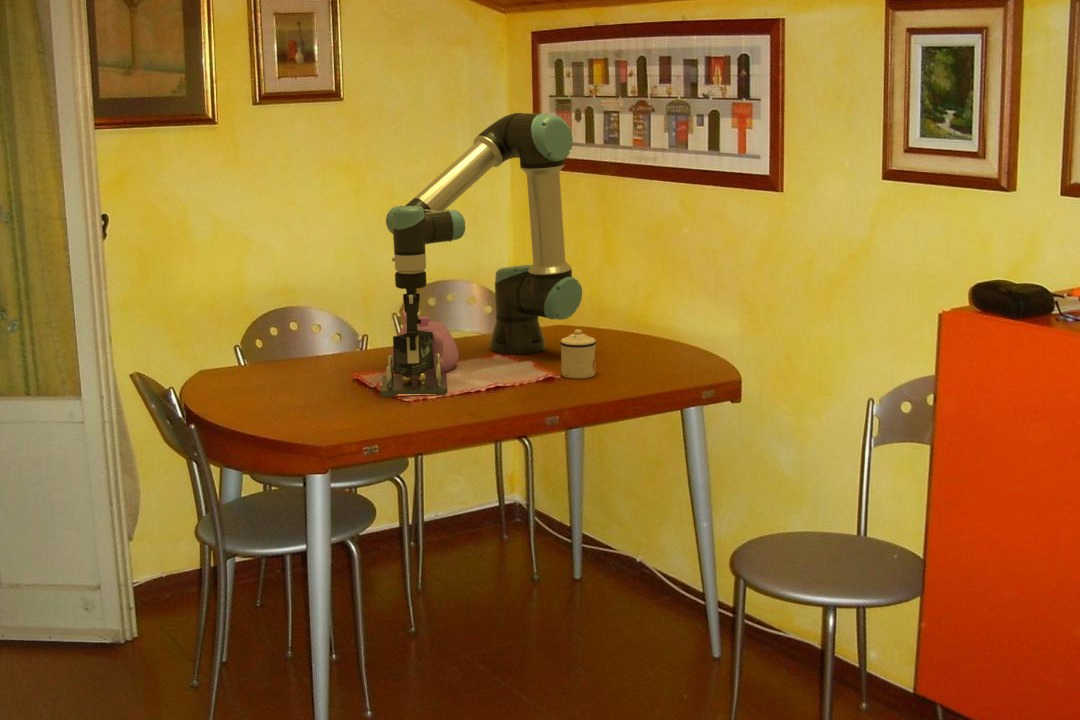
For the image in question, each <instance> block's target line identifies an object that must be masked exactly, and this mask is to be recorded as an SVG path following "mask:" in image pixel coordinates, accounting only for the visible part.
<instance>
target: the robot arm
mask: <svg viewBox="0 0 1080 720" xmlns="http://www.w3.org/2000/svg"><path fill="white" fill-rule="evenodd" d="M572 148H573V135H572V130H571V127H570V126H569V124H568V123H567V122H566V121H565V120H564V119H563V118H562V117H560V116H559V115H555V114H549V113H547V112H546V113H541V112H540V113H539V112H538V113H531V112H530V113H526V112H525V113H523V112H515V113H510V114H507V115H505V116H503V117H501V118H500V119H498V120H496V121H495V122H493V123H491V124H490V125H488V127H487V128H485V129H484V130H483V131H481V132H480V133H479V134H478V135H477V136H475V138H474V139H473V144H472V146H470V148H468V149H467V150H466V151H465V152H463V154H462V155H460V156H459V157H458V158H457V159H456V160H455V161H454V162H453V163H451V164H450V165H449V166H448V167H447V168H446V169H445V170H443V171H442V172H441V173H440V174H439V175H438V176H437V177H436V178H434V180H433V181H432V182H430V183H429V184H428V185H427V186H425V188H423V189H422V190H421V191H420V192H419V193H418V194H416V196H414V197H413V198H412V199H411V200H409V202H408V203H406V204H405V205H399V206H394V207H392V208H391V209H389V211H388V212H387V213H386V218H385V224H386V228H387V229H388V231H389V232H390V233H391V234H392V236H393V237H392V238H393V239H392V240H393V252H394V253H393V255H394V257H392V258H391V262H394V270H395V271H396V272H395V273H394V282H395V284H394V285H395V287H396V288H397V289H399V290H405V291H406V293H403V294H402V295H403V296H402V299H403V301H402V303H403V304H404V305H403V306H404V308H403V310H405V313H406V317H407V333H406V334H404V337H407V356H408V363H419V346H418V332H417V330H419V324H421V319H418V317H419V314H418V313H419V311H420V310H419V309H420V301H421V297H420V293H419V292H418V291H417V290H418V289H422V288H426V286H427V272H426V269H427V257H426V256H427V255H426V254H427V253H426V245H429V244H430V245H431V244H436V243H444V242H453V241H455V240H459V239H461V238H462V237H463V236H464V235H465V232H466V220H465V217H464V216H463V214H462V213H461V212H460V211H459V210H456V209H448V208H449V207H450V206H451V205H452V204H453V203H455V202H456V201H457V199H458V198H460V197H461V196H462V195H463V194H464V193H465V192H466V191H467V190H469V188H471V187H472V186H473V185H475V183H476V182H478V181H479V180H480V179H481V178H482V177H483V176H484V175H485V174H487V172H488V171H489V170H491V168H493V167H494V168H498V167H500V166H501V165H502V164H503V163H504V162H506V161H508V160H510V159H519V165H520V170H522V171H523V172H524V173H525V174H526V181H527V183H526V184H527V185H526V186H527V194H528V195H527V196H528V210H529V211H528V212H529V224H530V237H531V239H530V240H531V250H532V251H531V253H532V264H524V265H514V266H508V267H507V266H506V267H501V268H499V269H497V271H495V282H494V293H495V294H494V296H495V318H496V319H495V320H496V321H495V325H494V328H493V331H492V336H491V338H490V341H489V343H490V351H492V352H493V353H499V354H504V355H505V354H507V355H524V354H525V355H526V354H527V355H528V354H533V353H539V352H541V351H544V350H545V349H546V339H545V336H544V334H543V330H542V329H541V328H542V327H541V324H540V322H539V317H541V318H545V319H549V320H561V321H562V320H563V321H564V320H566V319H568V318H570V317H572V316H573V315H574V314H575V313H576V312H577V309H579V307H580V305H581V302H582V298H583V287H582V285H581V283H580V282H579V281H578V279H576V278H575V277H573V270H572V266H571V265H570V264H569V263H568V262H567V261H566V251H565V236H564V235H565V234H564V222H563V209H562V208H563V206H562V191H561V190H562V189H561V177H560V176H561V175H560V172H561V170H562V169H563V168H564V167H565V165H566V164H565V159H566V158H568V156H569V155H570V154H571V152H570V151H571V150H572Z"/></svg>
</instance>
